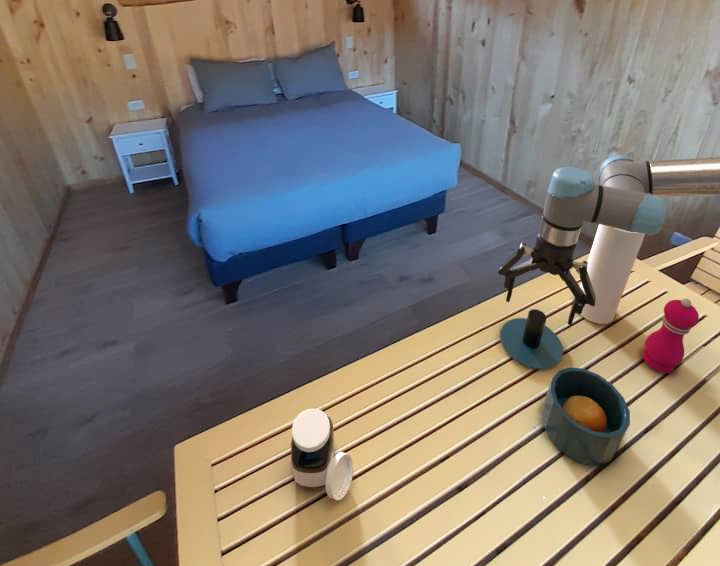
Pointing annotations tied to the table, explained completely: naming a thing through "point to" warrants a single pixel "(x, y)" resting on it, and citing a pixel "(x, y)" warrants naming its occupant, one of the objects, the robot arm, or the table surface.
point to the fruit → (586, 413)
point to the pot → (575, 437)
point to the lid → (531, 341)
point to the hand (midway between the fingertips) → (538, 309)
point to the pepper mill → (670, 336)
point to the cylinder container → (610, 270)
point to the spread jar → (319, 455)
